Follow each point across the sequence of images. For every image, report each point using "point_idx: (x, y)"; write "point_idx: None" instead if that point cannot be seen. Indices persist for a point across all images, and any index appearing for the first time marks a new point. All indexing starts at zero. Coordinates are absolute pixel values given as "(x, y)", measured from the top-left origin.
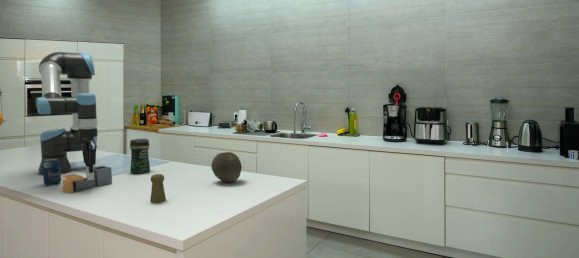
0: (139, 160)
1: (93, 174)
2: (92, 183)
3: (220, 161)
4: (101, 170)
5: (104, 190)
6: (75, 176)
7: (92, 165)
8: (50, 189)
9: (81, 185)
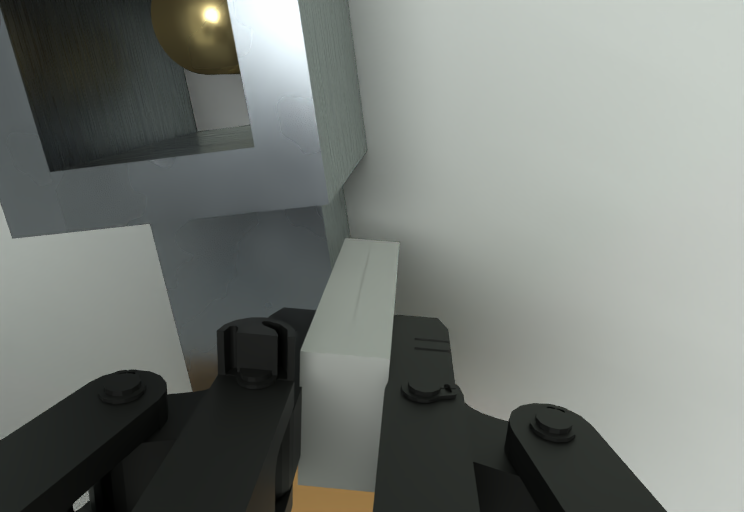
0: None
1: (394, 278)
2: (337, 221)
3: None
4: (319, 94)
5: (613, 169)
6: (302, 498)
7: (475, 426)
8: None
9: None
